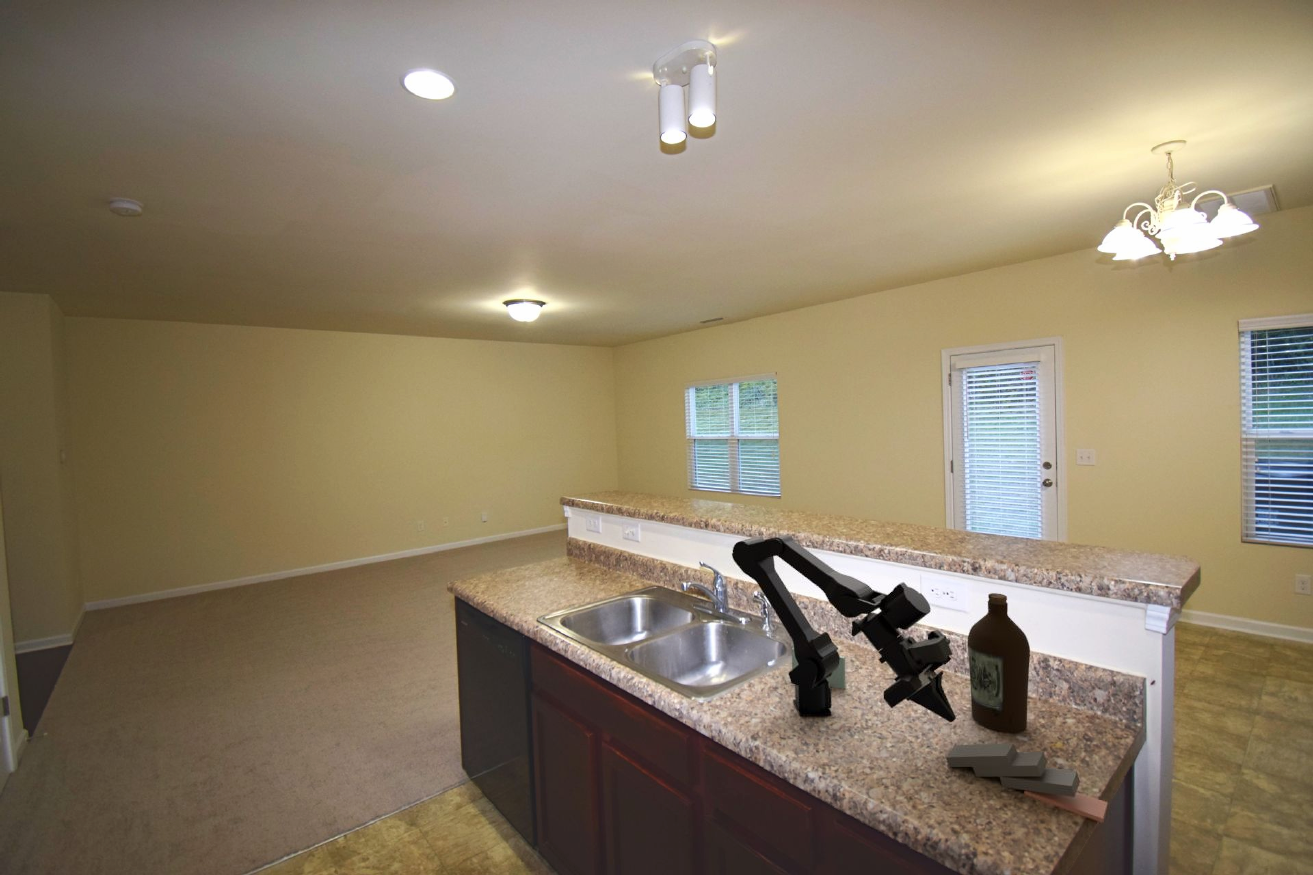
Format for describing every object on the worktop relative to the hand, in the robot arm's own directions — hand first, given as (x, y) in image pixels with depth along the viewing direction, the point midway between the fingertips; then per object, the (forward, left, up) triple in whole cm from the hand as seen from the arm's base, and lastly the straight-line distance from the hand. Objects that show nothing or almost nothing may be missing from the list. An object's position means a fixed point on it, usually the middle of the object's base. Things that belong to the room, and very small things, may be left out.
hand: (953, 720), depth 103 cm
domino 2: (+3, -3, -6) cm, 7 cm away
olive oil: (+15, +13, -7) cm, 21 cm away
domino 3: (+6, -6, -6) cm, 10 cm away
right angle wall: (-12, +36, -8) cm, 39 cm away
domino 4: (+8, -8, -7) cm, 13 cm away
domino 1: (0, 0, -6) cm, 6 cm away
